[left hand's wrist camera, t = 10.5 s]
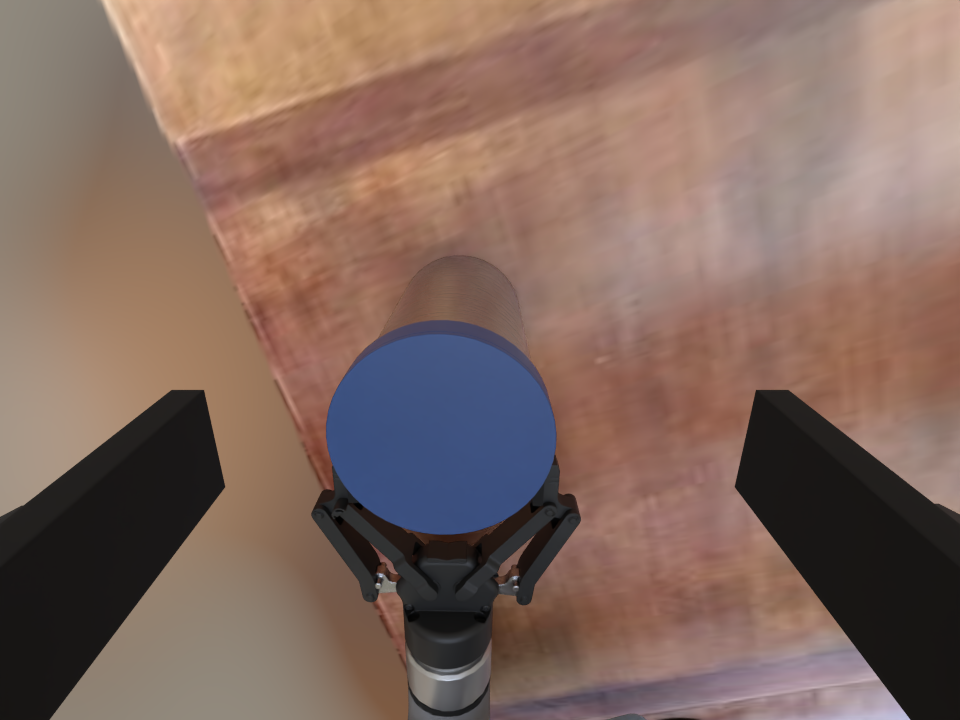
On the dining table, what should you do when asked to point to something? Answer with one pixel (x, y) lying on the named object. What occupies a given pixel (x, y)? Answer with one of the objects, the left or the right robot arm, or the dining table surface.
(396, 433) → the lid
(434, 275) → the jar
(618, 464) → the dining table surface
